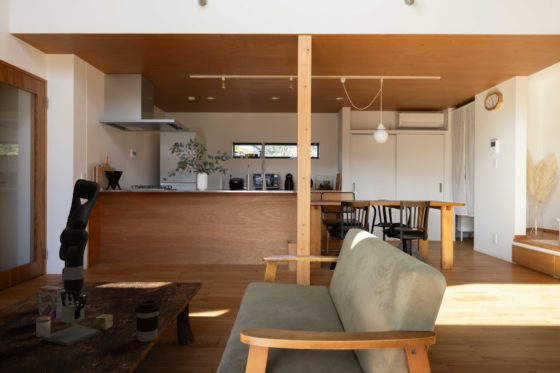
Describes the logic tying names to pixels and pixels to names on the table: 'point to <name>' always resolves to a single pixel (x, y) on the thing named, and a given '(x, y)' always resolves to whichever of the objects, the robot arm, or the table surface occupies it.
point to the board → (71, 335)
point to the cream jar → (43, 326)
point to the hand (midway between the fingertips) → (73, 317)
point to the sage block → (70, 313)
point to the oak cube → (104, 321)
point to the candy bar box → (50, 301)
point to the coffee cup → (147, 320)
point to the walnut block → (57, 324)
